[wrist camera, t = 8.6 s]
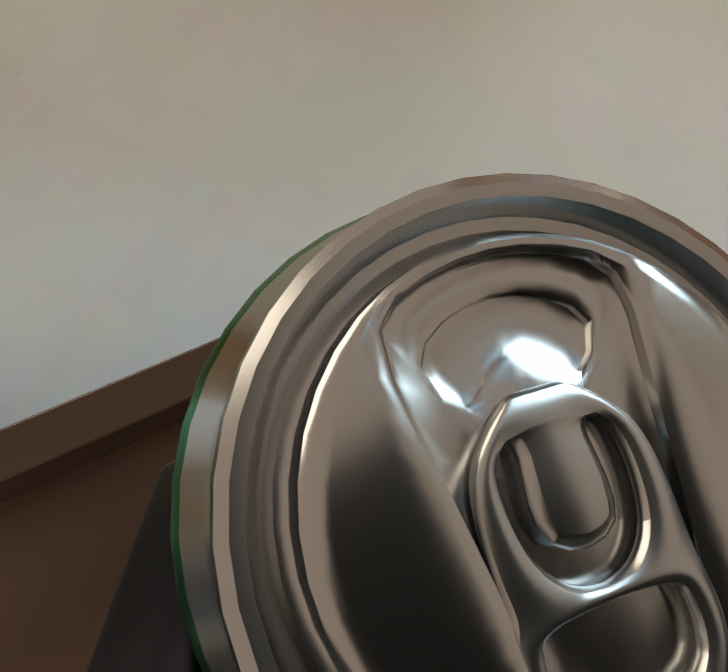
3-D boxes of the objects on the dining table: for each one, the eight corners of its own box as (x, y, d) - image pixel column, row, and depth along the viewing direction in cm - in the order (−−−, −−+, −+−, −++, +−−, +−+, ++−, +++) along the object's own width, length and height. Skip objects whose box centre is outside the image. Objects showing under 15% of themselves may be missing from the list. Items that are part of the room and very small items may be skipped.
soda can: (395, 370, 16) (731, 79, 4) (451, 547, 15) (1080, 771, 3) (220, 418, 15) (53, 189, 3) (267, 614, 14) (271, 1309, 2)
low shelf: (475, 611, 21) (584, 681, 14) (111, 844, 17) (5, 1103, 10) (339, 336, 23) (375, 272, 16) (-17, 493, 19) (-185, 505, 12)
